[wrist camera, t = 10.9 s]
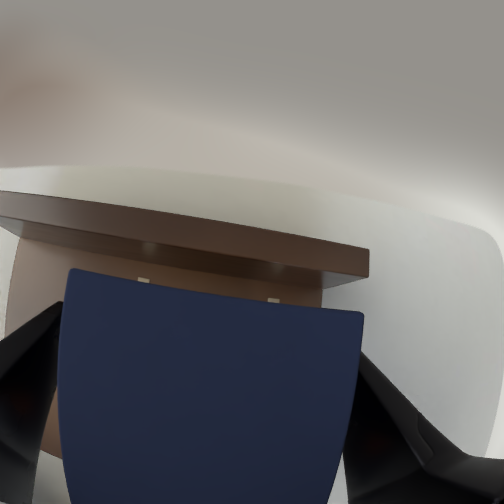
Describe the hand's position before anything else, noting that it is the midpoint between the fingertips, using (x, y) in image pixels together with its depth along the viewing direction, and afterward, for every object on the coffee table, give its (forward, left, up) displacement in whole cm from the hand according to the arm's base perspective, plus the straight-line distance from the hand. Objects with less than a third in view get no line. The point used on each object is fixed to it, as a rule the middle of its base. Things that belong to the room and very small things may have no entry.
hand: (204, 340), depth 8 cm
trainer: (-4, +1, -5) cm, 7 cm away
